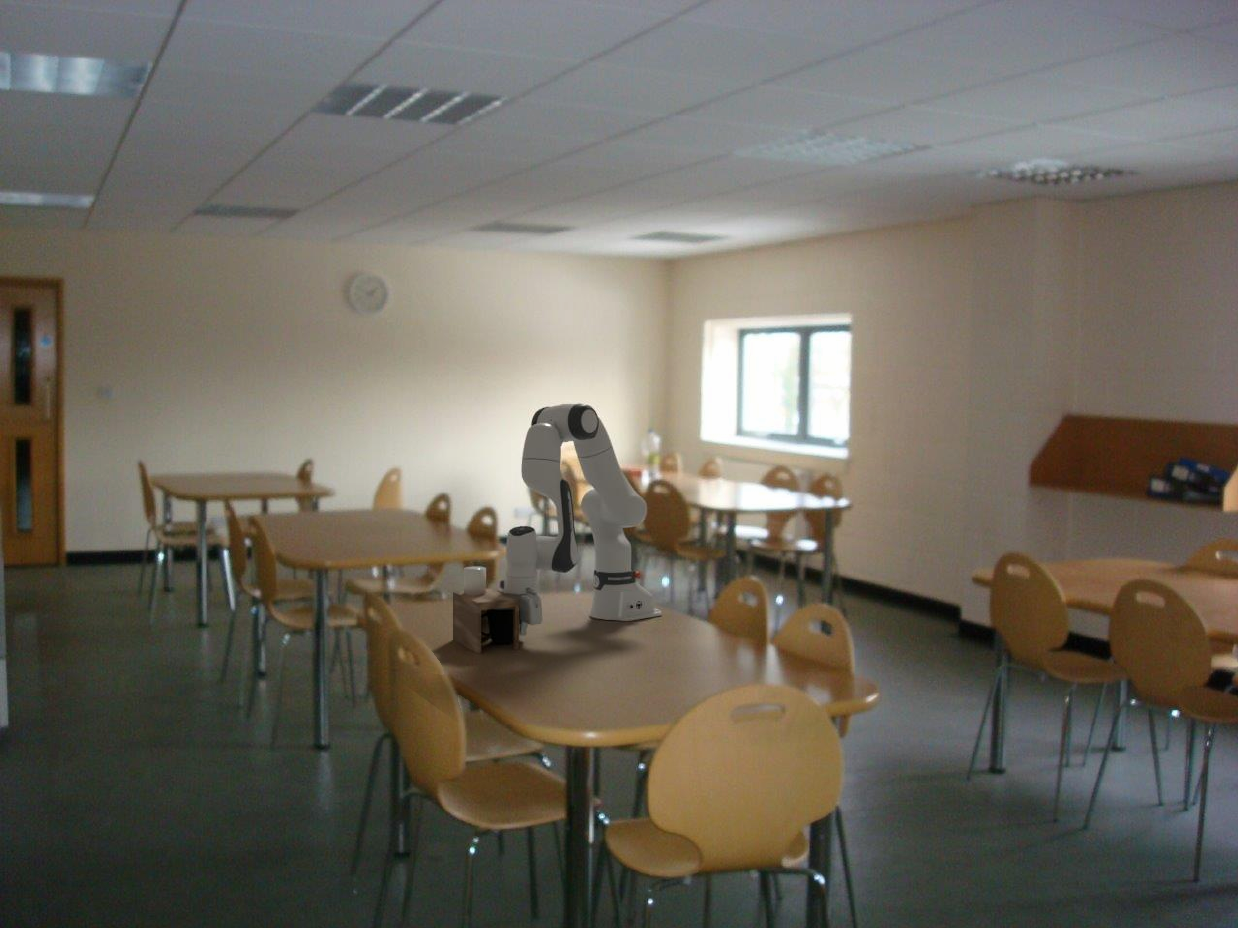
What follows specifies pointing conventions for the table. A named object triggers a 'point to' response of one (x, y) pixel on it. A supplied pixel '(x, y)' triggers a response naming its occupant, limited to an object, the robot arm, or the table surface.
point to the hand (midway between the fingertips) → (521, 634)
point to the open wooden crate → (470, 612)
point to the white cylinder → (474, 580)
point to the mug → (500, 625)
